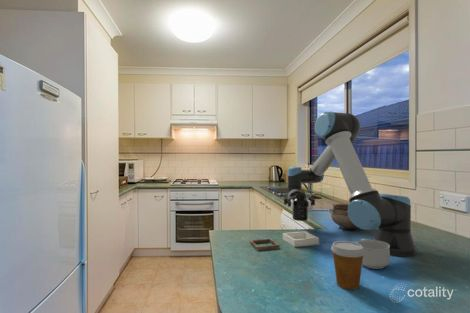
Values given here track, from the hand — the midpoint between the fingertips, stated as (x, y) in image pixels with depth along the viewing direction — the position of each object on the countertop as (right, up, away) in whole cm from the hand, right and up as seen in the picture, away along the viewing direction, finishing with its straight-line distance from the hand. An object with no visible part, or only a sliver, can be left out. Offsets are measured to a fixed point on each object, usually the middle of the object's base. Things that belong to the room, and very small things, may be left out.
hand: (301, 204), depth 123 cm
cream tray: (+1, -18, +5) cm, 19 cm away
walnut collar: (-16, -18, -1) cm, 24 cm away
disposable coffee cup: (+5, -18, -39) cm, 43 cm away
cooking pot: (+33, -18, +29) cm, 48 cm away
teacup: (+20, -18, -22) cm, 35 cm away
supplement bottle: (+1, -8, +5) cm, 9 cm away
